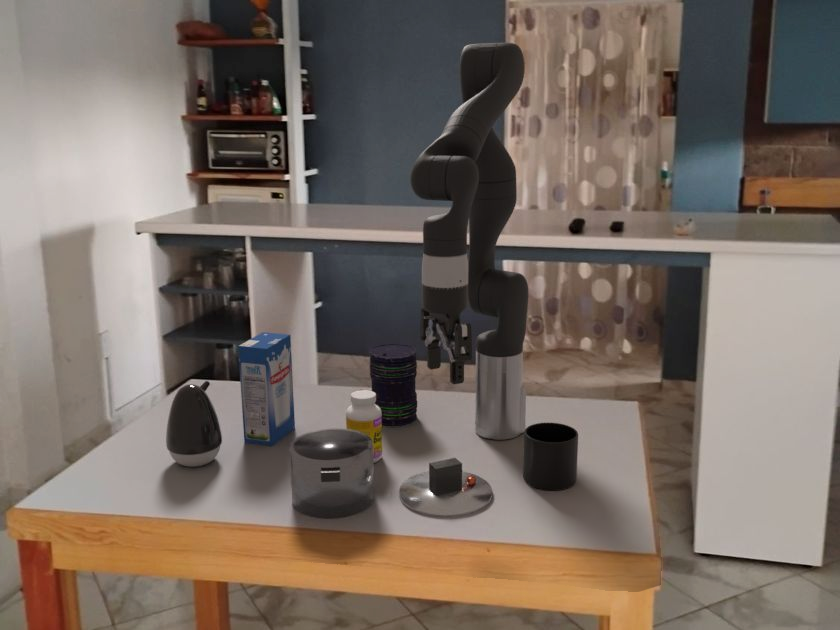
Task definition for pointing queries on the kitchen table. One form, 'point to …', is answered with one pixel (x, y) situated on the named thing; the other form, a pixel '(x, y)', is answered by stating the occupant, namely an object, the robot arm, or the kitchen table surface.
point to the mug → (550, 456)
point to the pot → (332, 472)
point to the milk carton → (266, 388)
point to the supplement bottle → (366, 419)
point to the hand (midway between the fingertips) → (445, 375)
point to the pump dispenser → (193, 427)
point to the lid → (445, 490)
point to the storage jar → (394, 383)
